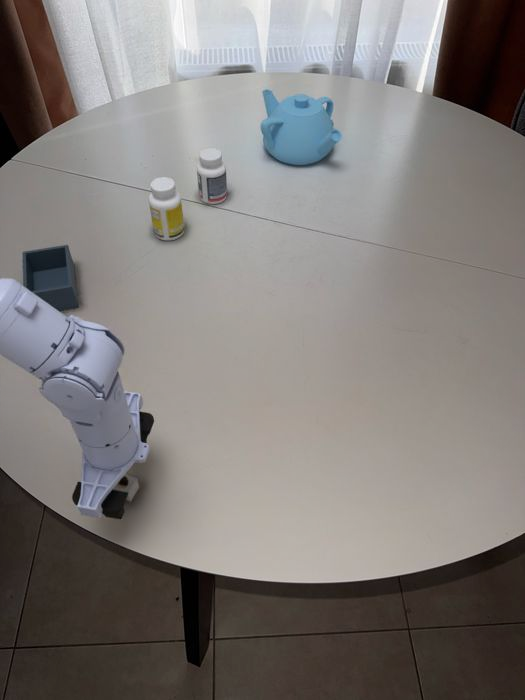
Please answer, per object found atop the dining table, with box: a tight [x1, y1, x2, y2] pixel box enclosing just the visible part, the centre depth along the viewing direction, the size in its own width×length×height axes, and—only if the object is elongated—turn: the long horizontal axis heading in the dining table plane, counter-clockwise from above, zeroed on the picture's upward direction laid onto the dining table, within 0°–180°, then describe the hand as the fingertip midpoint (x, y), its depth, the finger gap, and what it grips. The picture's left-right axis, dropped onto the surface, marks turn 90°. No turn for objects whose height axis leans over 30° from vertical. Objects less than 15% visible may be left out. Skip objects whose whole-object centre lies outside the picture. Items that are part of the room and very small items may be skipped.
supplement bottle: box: [148, 176, 185, 241], centre depth 99 cm, size 5×5×10 cm
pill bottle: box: [196, 147, 228, 205], centre depth 106 cm, size 5×5×9 cm
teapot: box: [260, 88, 343, 166], centre depth 116 cm, size 15×17×11 cm
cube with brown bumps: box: [113, 473, 140, 502], centre depth 69 cm, size 2×2×2 cm
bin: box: [22, 244, 80, 312], centre depth 91 cm, size 10×7×4 cm
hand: (125, 485), depth 69 cm, fingers open, 7 cm apart
